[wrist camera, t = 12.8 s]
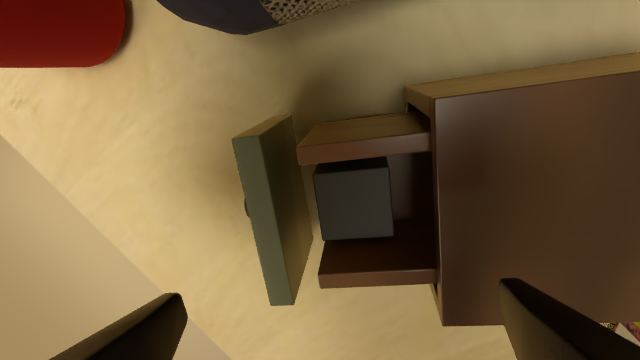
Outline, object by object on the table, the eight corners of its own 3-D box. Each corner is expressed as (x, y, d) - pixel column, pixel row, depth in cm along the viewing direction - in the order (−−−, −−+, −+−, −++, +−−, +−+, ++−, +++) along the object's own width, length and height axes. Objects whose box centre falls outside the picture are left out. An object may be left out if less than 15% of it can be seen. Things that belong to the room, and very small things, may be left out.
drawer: (278, 241, 22) (246, 307, 16) (252, 119, 19) (203, 141, 13) (463, 228, 20) (506, 298, 14) (461, 90, 17) (513, 102, 11)
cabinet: (413, 233, 21) (442, 326, 13) (404, 85, 18) (433, 98, 11) (614, 220, 19) (780, 319, 12) (639, 52, 16) (881, 37, 9)
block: (389, 207, 19) (394, 237, 15) (329, 211, 19) (322, 241, 16) (384, 148, 17) (389, 166, 14) (321, 155, 18) (311, 174, 15)
